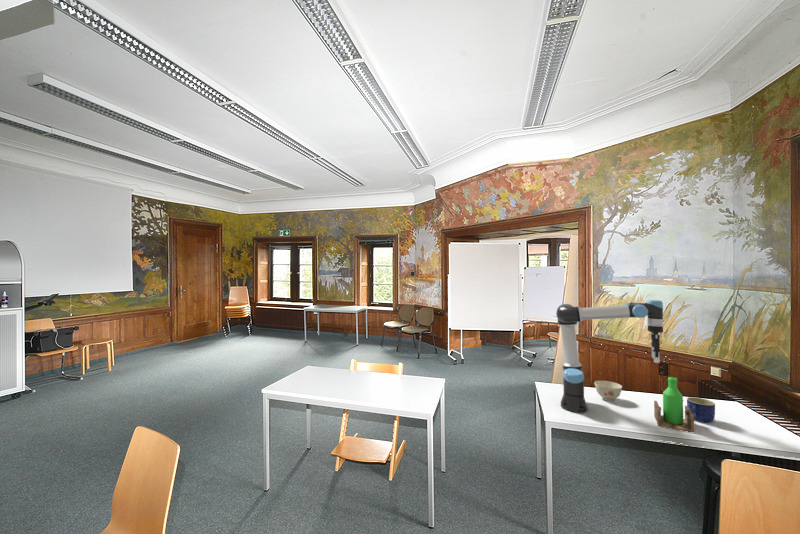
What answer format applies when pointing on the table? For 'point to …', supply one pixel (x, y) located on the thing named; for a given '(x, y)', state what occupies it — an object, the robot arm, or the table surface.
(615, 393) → the bowl
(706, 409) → the planter
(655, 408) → the holder
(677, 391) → the bottle
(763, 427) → the table surface
